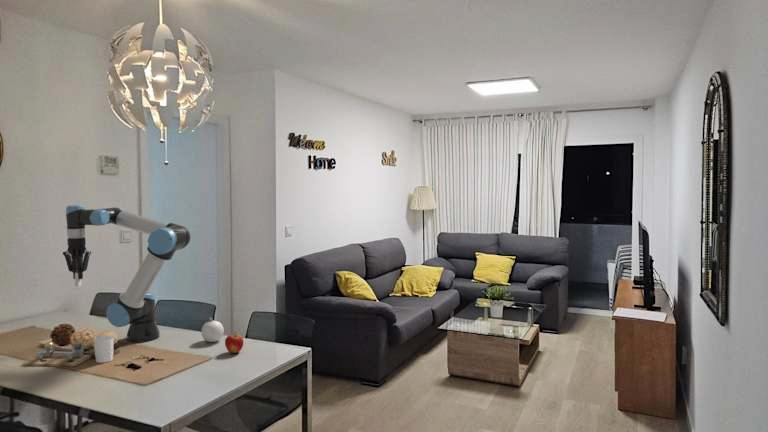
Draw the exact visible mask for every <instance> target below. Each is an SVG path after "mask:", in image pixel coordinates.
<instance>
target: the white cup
mask: <svg viewBox="0 0 768 432" xmlns="http://www.w3.org/2000/svg"><path fill="white" fill-rule="evenodd" d="M114 339H115V338H114V336H113V335H101V336H98V337H95V338H93V349H94V356H95V362H96V363H97V364H98V363H99V364H103V363H109V362H111V361H113V360H114V347H115V346H114V345H115V344H114V342H115V341H114Z"/></svg>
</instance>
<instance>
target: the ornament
mask: <svg viewBox="0 0 768 432" xmlns="http://www.w3.org/2000/svg"><path fill="white" fill-rule="evenodd" d="M224 330H225V329H224V326H223V324H222V323H221V322H220V321H217V320H213V317H209V319H208V321H207V322H205V323H204V324H203V326H202V327H201V337H202V338H203V340H204V341H206V342H209V343H214V342H215V343H216V342H218V341H220V340H221V339H222V337H223V336H224V332H225V331H224Z"/></svg>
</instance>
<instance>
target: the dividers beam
mask: <svg viewBox="0 0 768 432" xmlns="http://www.w3.org/2000/svg"><path fill="white" fill-rule="evenodd" d="M41 351H42V350H41ZM41 351H39V350H38V351H37V352H35V355H36V356H35V357H40V356H39V355H38V353H39V352H41ZM50 353H51V357H60V358H69V361H72V358H81V357H83V355H85V350H84V347H82V343H81V342H78V343H74V344H73V349H72V351H56V350H55V351H53V352H50ZM42 357H43V355H42Z"/></svg>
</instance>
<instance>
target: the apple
mask: <svg viewBox="0 0 768 432" xmlns="http://www.w3.org/2000/svg"><path fill="white" fill-rule="evenodd" d="M236 333H237V332H236V331H235V332H234V333H233V334H230V335H228V336H226V337H225V339H224V345H225V348H226V350H227V352H229V353H230V354H236V353H239V352H240V351H241V350H242V349H243V346H244V339H243V337H242V336H241V335H240V334H239V333H238V334H236Z"/></svg>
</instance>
